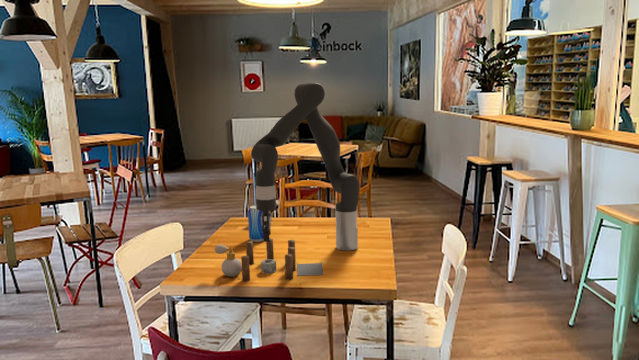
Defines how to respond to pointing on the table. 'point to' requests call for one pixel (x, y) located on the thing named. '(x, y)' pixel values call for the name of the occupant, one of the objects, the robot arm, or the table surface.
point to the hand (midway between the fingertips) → (267, 238)
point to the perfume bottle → (229, 261)
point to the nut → (268, 266)
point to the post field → (249, 258)
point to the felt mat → (309, 269)
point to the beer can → (255, 224)
